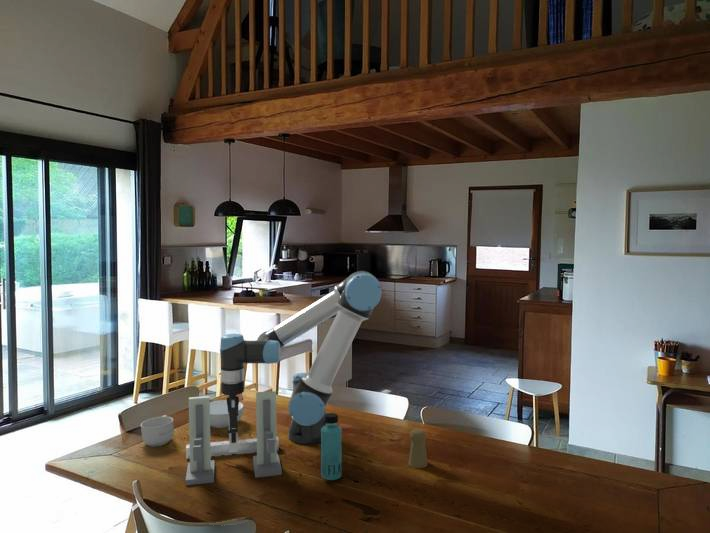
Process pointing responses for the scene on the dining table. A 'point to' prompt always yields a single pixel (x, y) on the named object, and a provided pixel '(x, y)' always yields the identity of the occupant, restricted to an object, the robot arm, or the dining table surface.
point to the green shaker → (418, 449)
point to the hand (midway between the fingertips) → (233, 443)
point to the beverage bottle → (331, 448)
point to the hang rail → (223, 447)
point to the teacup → (157, 431)
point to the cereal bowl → (222, 413)
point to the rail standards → (199, 437)
